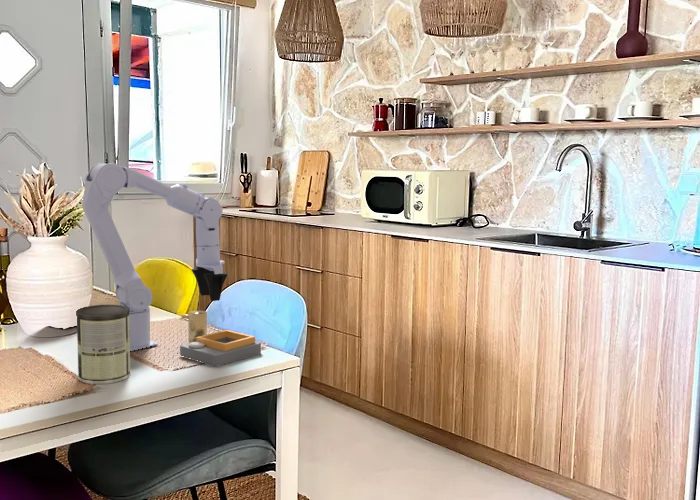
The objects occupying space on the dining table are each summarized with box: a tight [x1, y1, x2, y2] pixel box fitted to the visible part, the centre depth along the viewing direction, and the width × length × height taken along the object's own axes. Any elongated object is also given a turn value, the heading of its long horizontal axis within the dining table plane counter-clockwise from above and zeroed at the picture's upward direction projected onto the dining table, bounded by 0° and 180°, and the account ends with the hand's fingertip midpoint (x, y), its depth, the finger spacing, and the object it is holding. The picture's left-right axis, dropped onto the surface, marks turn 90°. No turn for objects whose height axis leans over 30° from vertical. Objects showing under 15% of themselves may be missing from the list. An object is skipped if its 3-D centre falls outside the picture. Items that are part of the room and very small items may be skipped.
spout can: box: [180, 310, 208, 344], centre depth 162 cm, size 6×4×8 cm
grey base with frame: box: [179, 329, 262, 368], centre depth 154 cm, size 14×12×4 cm
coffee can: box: [76, 304, 131, 385], centre depth 135 cm, size 10×10×14 cm
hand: (210, 297), depth 169 cm, fingers open, 7 cm apart
